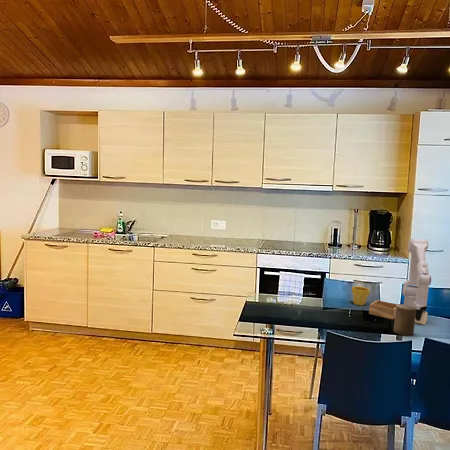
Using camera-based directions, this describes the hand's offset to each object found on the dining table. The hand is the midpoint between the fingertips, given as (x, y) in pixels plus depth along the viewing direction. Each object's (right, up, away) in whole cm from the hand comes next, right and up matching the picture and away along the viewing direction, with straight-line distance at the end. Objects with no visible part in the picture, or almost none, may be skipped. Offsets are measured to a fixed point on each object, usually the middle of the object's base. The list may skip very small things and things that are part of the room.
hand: (418, 319), depth 259 cm
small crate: (0, -1, 0) cm, 1 cm away
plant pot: (-25, +4, +29) cm, 38 cm away
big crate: (-16, +1, +11) cm, 19 cm away
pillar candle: (-16, -3, -20) cm, 26 cm away
